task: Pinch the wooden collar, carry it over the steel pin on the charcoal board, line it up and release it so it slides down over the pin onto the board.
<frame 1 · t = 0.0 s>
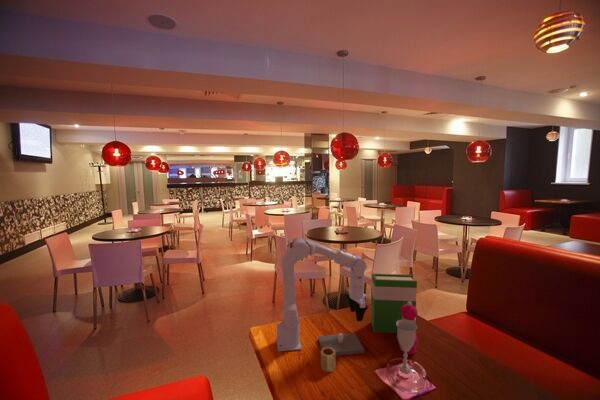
hand: (356, 315, 116), 10 cm above the table, tool pointing down, fingers open, 7 cm apart
pepper mill: (407, 349, 110), on the table
chalice: (404, 373, 97), on the table
pin board: (340, 346, 112), on the table
wooden collar: (327, 367, 100), on the table
hardback book: (391, 328, 125), on the table
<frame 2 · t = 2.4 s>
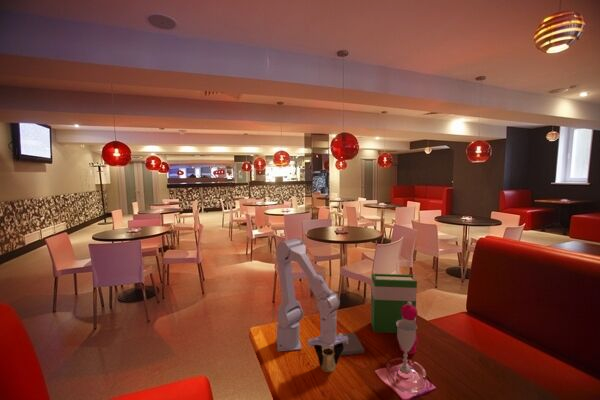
hand: (327, 362, 100), 2 cm above the table, tool pointing down, fingers closed on wooden collar, 5 cm apart
wooden collar: (327, 367, 100), on the table, touching gripper
everything else where it was.
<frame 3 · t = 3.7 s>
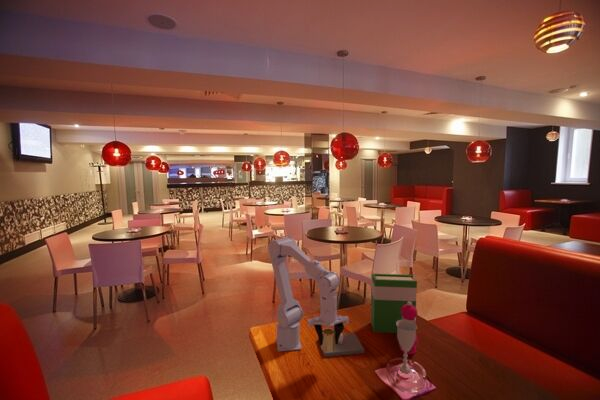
hand: (328, 343, 99), 9 cm above the table, tool pointing down, fingers closed on wooden collar, 5 cm apart
wooden collar: (328, 347, 99), point 8 cm above the table, touching gripper
everything else where it was.
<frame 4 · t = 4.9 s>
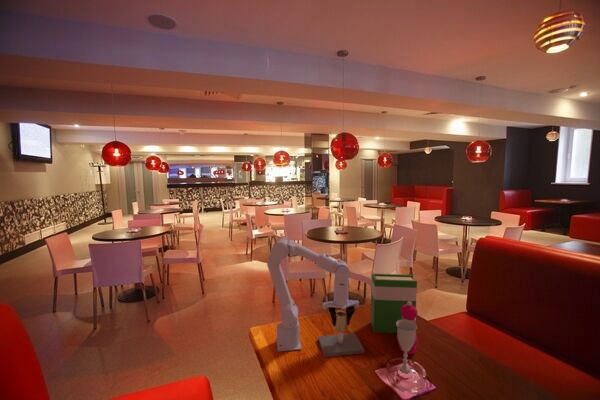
hand: (340, 324, 111), 9 cm above the table, tool pointing down, fingers closed on wooden collar, 5 cm apart
wooden collar: (340, 328, 111), point 8 cm above the table, touching gripper
everything else where it was.
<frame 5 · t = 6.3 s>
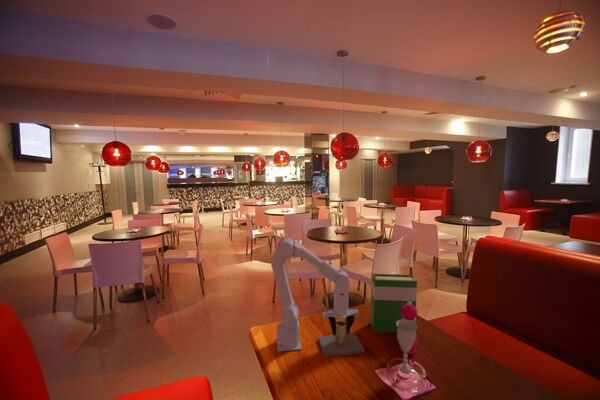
hand: (340, 333, 111), 5 cm above the table, tool pointing down, fingers closed on wooden collar, 5 cm apart
wooden collar: (340, 337, 111), point 4 cm above the table, touching gripper
everything else where it was.
when the fingers open (5 cm above the table, at t = 7.4 s): wooden collar drops 2 cm, resting on pin board.
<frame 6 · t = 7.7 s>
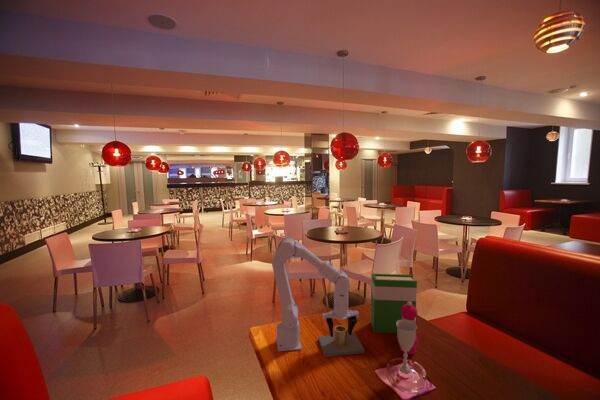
hand: (340, 334, 111), 5 cm above the table, tool pointing down, fingers open, 7 cm apart
wooden collar: (340, 342, 111), point 1 cm above the table, touching pin board
everything else where it was.
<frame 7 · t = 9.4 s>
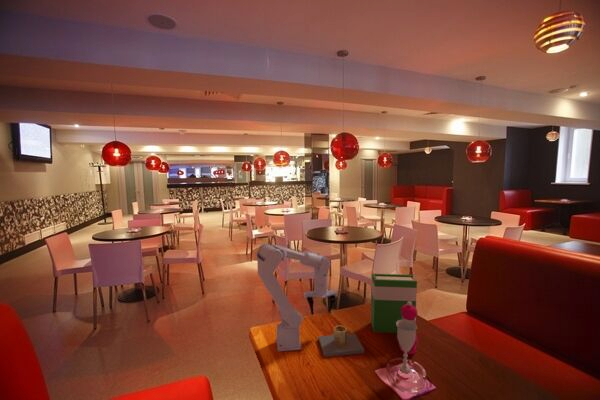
hand: (320, 312, 120), 9 cm above the table, tool pointing down, fingers open, 7 cm apart
nothing on the table moved.
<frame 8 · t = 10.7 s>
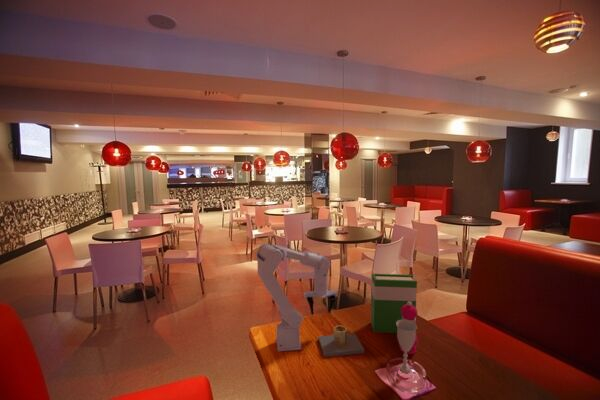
hand: (320, 312, 120), 9 cm above the table, tool pointing down, fingers open, 7 cm apart
nothing on the table moved.
at the end: wooden collar 0.0 cm off-centre on the pin board, point 1.5 cm above the pin board's base; wooden collar tilted 0°; the gripper is holding nothing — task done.
